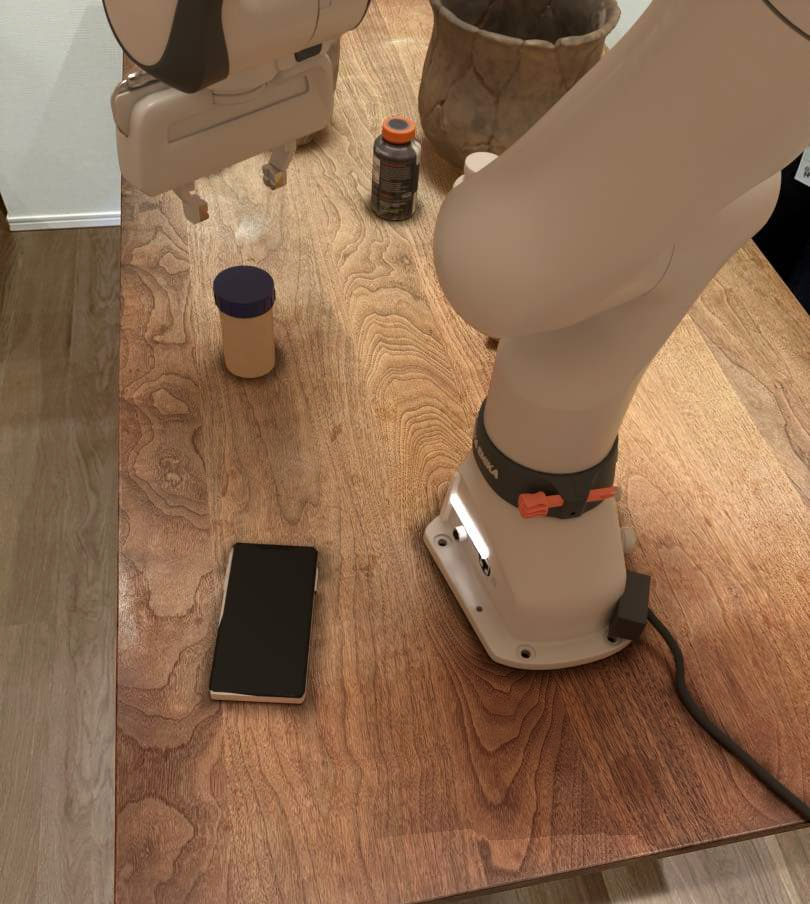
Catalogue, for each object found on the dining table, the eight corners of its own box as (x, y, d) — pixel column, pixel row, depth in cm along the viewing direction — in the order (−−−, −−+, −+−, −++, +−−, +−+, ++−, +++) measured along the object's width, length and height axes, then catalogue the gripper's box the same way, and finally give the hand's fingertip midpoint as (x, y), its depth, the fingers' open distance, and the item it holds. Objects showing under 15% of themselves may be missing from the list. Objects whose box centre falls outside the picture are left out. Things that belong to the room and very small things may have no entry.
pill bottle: (424, 206, 115) (433, 122, 106) (400, 227, 111) (407, 142, 102) (386, 189, 116) (391, 105, 107) (361, 210, 113) (364, 124, 104)
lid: (279, 316, 87) (278, 300, 86) (218, 321, 86) (216, 306, 84) (270, 278, 91) (269, 262, 89) (211, 283, 89) (209, 267, 88)
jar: (279, 375, 94) (275, 302, 86) (228, 380, 93) (219, 307, 85) (271, 341, 97) (267, 269, 89) (222, 346, 96) (213, 273, 88)
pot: (456, 100, 132) (476, -62, 115) (603, 147, 127) (647, -15, 110) (381, 178, 118) (391, 6, 101) (543, 235, 113) (583, 64, 96)
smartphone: (205, 693, 70) (230, 541, 79) (207, 700, 71) (231, 549, 80) (306, 698, 70) (320, 546, 79) (306, 704, 71) (320, 554, 80)
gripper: (131, 97, 62) (160, 262, 74) (346, 24, 72) (343, 180, 83) (83, 62, 65) (118, 226, 76) (297, -4, 74) (300, 151, 85)
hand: (237, 201), depth 79 cm, fingers open, 7 cm apart
